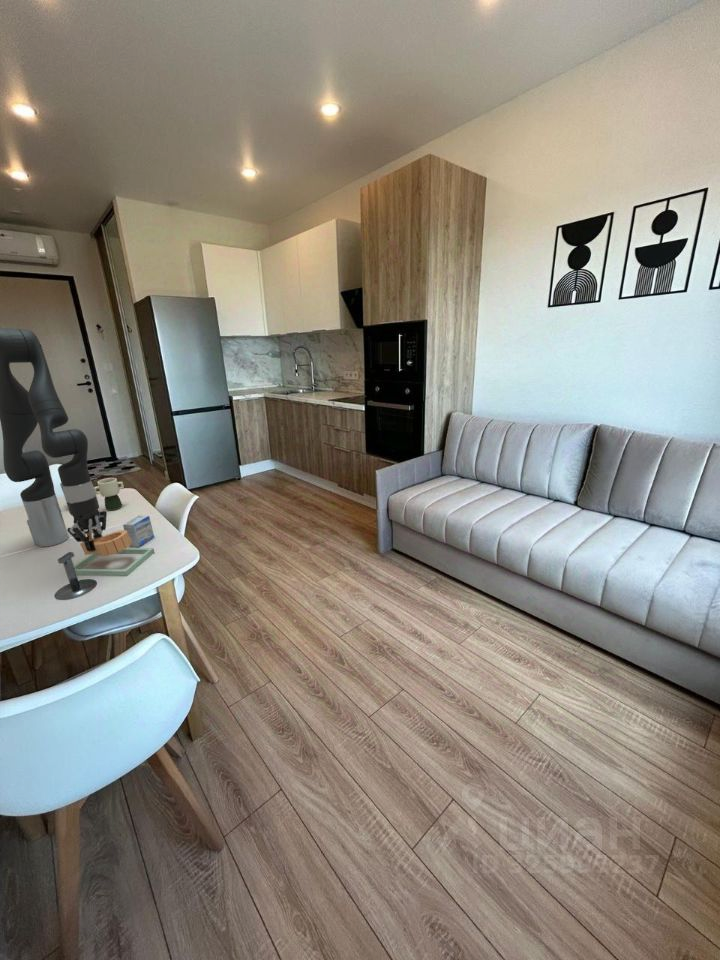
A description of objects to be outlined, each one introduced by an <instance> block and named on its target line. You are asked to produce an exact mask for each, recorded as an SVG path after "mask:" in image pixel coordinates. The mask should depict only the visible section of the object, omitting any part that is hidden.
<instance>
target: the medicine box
mask: <svg viewBox="0 0 720 960" xmlns="http://www.w3.org/2000/svg"><path fill="white" fill-rule="evenodd" d="M122 527H123V530H125V531H127V532H128V534H129V537H130V539H131V541H132V543H131V545H130V546H132V547H131V548H141V547H142V546H143V545H144V543H145V544H147V541H148V542H149V541H151V540H152V539H154V538H153V537H155V534H154V530H153V526H152V521H151V518H150V515H143V514H142V515H140V514H139V515H138V516H136V517H135V518H133V519H131V520H129V521H127V522H126V523H123V524H122ZM150 539H151V540H150ZM142 544H143V545H142ZM141 545H142V546H141ZM130 546H129V547H130Z"/></svg>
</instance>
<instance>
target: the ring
mask: <svg viewBox="0 0 720 960" xmlns="http://www.w3.org/2000/svg"><path fill="white" fill-rule="evenodd" d="M92 540H93V542H94V546H95V549H96V550H95V551H93V552H89V551H87V550H86V546H85V543H84V542H80V544H79V545H80V547H81V550H82V551H83V554H84V556H88V555H90V554H96V553H98V554H99V555H98V557H99V556H100V557H107V556H112V555H115V554H119V553H118V552H120V551H122V550H124V549H125V548H130V545H131V543H132V541H131V539H130V537H129V534H128V532H127V531H125V530H124V529H122V530H117V531H114V532H111V533H109V534H105V535H102V537H99V538H94V537H92Z"/></svg>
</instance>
